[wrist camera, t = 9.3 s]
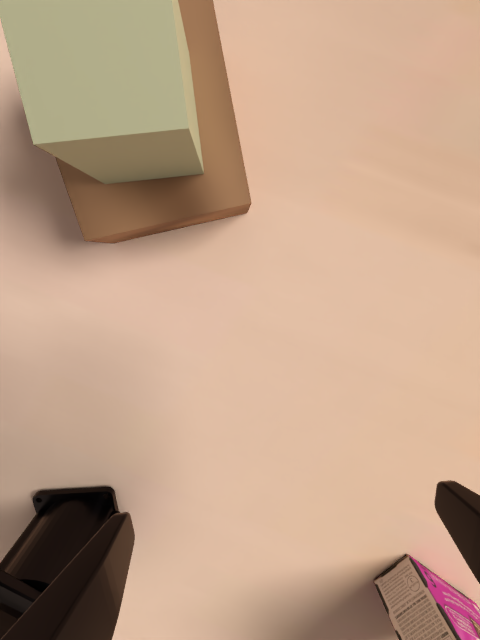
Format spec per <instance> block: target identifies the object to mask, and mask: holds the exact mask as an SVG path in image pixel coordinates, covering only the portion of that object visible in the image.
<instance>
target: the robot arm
mask: <svg viewBox="0 0 480 640" xmlns="http://www.w3.org/2000/svg"><path fill="white" fill-rule="evenodd" d="M33 503H34V507H35V510H36V513H37V514H36V515H35V517H34V518H33V520H32V521H31V522H30V524H29V525H28V526H27V528H26V529H25V530H24V532H23V533H22V534H21V536H20V537H19V538H18V540H17V541H16V543H15V544H14V545H13V547H12V548H11V549H10V551H9V552H8V553H7V555H6V556H5V557H4V559H3V560H2V561H1V563H0V640H112V637H113V633H114V630H115V626H116V623H117V619H118V616H119V611H120V607H121V602H122V598H123V593H124V588H125V584H126V579H127V574H128V570H129V565H130V560H131V555H132V551H133V546H134V540H135V534H134V529H133V525H132V520H131V516H130V514H129V513H128V512H125V513H120V512H119V510H118V506H117V501H116V496H115V491H114V489H112V488H110V487H102V488H84V489H67V490H50V491H39V492H37V493H36V495H35V496H34V497H33ZM435 508H436V511H437V513H438V515H439V517H440V518H441V520H442V522H443V523H444V525H445V527H446V529H447V530H448V532H449V534H450V535H451V537H452V539H453V541H454V542H455V544H456V546H457V547H458V549H459V551H460V552H461V554H462V556H463V558H464V559H465V561H466V563H467V564H468V566H469V568H470V569H471V571H472V573H473V574H474V576H475V577H476V579H477V580H478V582H479V584H480V495H478V494H476V493H475V492H473V491H471V490H469V489H468V488H466V487H464V486H462V485H461V484H459V483H457V482H455V481H441V482H439V483H438V484H437V488H436V496H435Z"/></svg>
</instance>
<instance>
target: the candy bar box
mask: <svg viewBox="0 0 480 640" xmlns="http://www.w3.org/2000/svg"><path fill="white" fill-rule="evenodd" d="M374 584H375V586H376V588H377V590H378V593H379V595H380V597H381V599H382V602H383V604H384V606H385V609H386V611H387V613H388V616H389V618H390V620H391V623H392V625H393V627H394V629H395V632H396V634H397V636H398V638H399V640H480V609H479V607H478V606H477V604H476V603H475V602H473V601H472V600H470V599H469V598H468V597H466V596H465V595H463V594H462V593H461V592H459V591H458V590H456V589H455V588H454V587H452V586H451V585H449V584H448V583H447V582H445V581H444V580H443V579H441V578H440V577H438V576H437V575H436V574H434V573H433V572H431V571H430V570H429V569H427V568H426V567H425V566H423V565H422V564H420V563H419V562H418V561H416V560H415V559H414V558H412V557H411V556H410V555H407V556H405V557H403V558H402V559H400V560H399V561H397V562H396V563H395V564H394V565H393V566H392V567H390V568H389V569H388V570H387V571H386V572H385V573H383V574H382V575H380V576H379V577H378V578H377V579H376V580H374Z"/></svg>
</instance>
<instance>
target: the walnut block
mask: <svg viewBox="0 0 480 640" xmlns="http://www.w3.org/2000/svg"><path fill="white" fill-rule="evenodd" d="M178 3H179V8H180V12H181V17H182V22H183V27H184V32H185V36H186V41H187V46H188V51H189V57H190V65H191V73H192V81H193V89H194V97H195V105H196V113H197V121H198V129H199V137H200V145H201V153H202V161H203V169H204V174H197V175H188V176H178V177H168V178H159V179H149V180H140V181H130V182H121V183H111V184H104V183H102V182H100V181H99V180H97V179H95V178H93V177H91V176H90V175H88V174H86V173H84V172H82V171H81V170H79V169H77V168H75V167H73V166H71V165H70V164H68V163H66V162H64V161H62V160H61V159H59V158H57V157H56V160H57V163H58V166H59V169H60V172H61V174H62V177H63V180H64V183H65V186H66V189H67V192H68V194H69V197H70V200H71V203H72V206H73V209H74V211H75V214H76V217H77V220H78V223H79V226H80V228H81V231H82V234H83V237H84V240H85V241H93V242H106V243H117V242H121V241H126V240H130V239H134V238H139V237H143V236H148V235H152V234H156V233H161V232H165V231H170V230H174V229H178V228H183V227H187V226H192V225H196V224H200V223H205V222H209V221H214V220H218V219H222V218H227V217H231V216H236V215H240V214H245V213H247V212H248V210H249V207H250V205H251V199H250V193H249V188H248V183H247V178H246V172H245V167H244V162H243V157H242V151H241V146H240V141H239V136H238V130H237V125H236V120H235V115H234V109H233V104H232V99H231V94H230V88H229V83H228V78H227V73H226V67H225V62H224V57H223V52H222V46H221V41H220V36H219V31H218V25H217V20H216V15H215V10H214V4H213V0H178Z"/></svg>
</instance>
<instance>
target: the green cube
mask: <svg viewBox="0 0 480 640" xmlns="http://www.w3.org/2000/svg"><path fill="white" fill-rule="evenodd" d="M0 19H1V23H2V27H3V30H4V34H5V38H6V42H7V46H8V50H9V53H10V57H11V61H12V65H13V69H14V72H15V76H16V80H17V84H18V88H19V92H20V95H21V99H22V103H23V107H24V111H25V114H26V118H27V122H28V126H29V130H30V134H31V137H32V141H33V144H34V145H35V146H37V147H39V148H41V149H43V150H44V151H46V152H48V153H50V154H52V155H53V156H55V157H57V158H59V159H61V160H62V161H64V162H66V163H68V164H70V165H71V166H73V167H75V168H77V169H79V170H81V171H82V172H84V173H86V174H88V175H90V176H91V177H93V178H95V179H97V180H99V181H100V182H102V183H104V184H111V183H121V182H130V181H140V180H149V179H159V178H168V177H178V176H188V175H197V174H204V169H203V161H202V153H201V145H200V137H199V129H198V121H197V113H196V105H195V97H194V89H193V81H192V73H191V65H190V57H189V51H188V46H187V41H186V36H185V32H184V27H183V22H182V17H181V12H180V8H179V3H178V0H0Z"/></svg>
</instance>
